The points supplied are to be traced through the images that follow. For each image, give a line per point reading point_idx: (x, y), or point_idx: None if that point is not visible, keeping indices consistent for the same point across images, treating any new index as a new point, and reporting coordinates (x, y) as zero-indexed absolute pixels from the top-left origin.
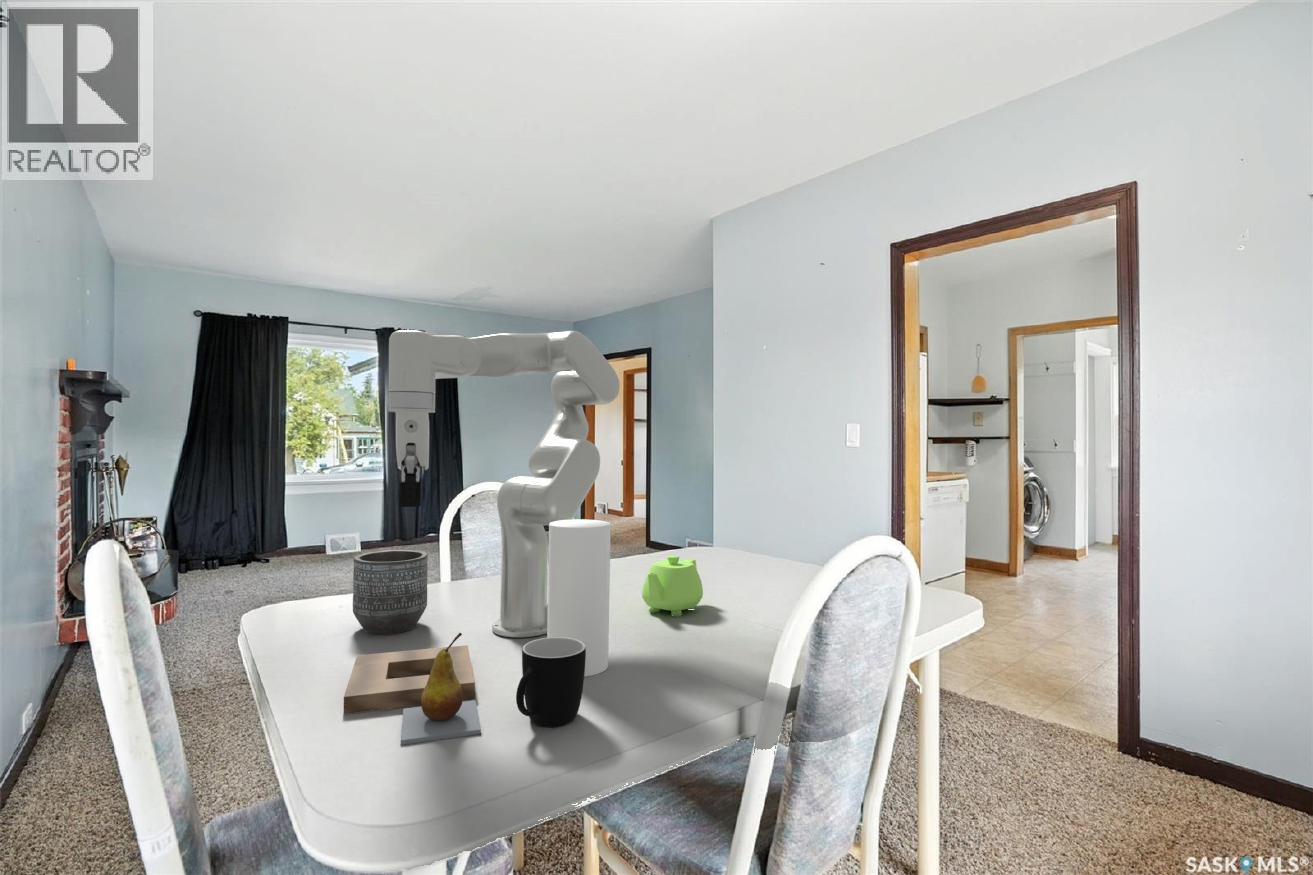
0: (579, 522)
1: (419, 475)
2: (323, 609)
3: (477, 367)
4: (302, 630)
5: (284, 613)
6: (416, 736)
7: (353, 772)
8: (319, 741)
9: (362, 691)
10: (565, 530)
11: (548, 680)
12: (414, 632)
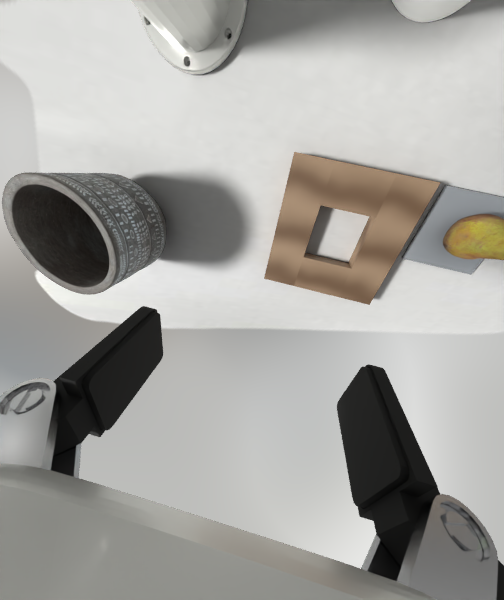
0: None
1: (53, 401)
2: None
3: None
4: (135, 294)
5: (82, 300)
6: (477, 261)
7: (479, 307)
8: (403, 316)
9: (368, 290)
10: None
11: None
12: (165, 197)
